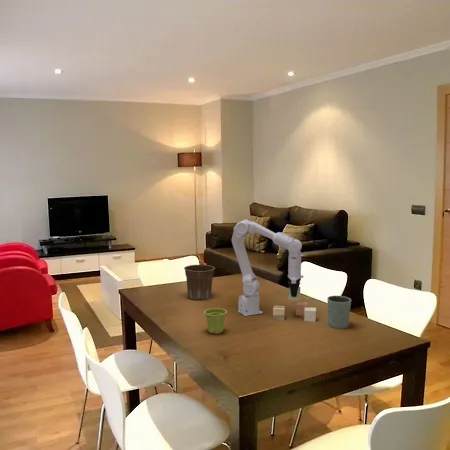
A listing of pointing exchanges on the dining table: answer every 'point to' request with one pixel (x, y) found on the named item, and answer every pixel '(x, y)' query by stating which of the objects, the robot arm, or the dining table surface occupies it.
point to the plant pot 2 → (215, 319)
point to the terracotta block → (300, 308)
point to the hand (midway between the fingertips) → (294, 295)
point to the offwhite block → (310, 314)
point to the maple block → (279, 312)
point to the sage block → (296, 296)
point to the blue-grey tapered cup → (338, 311)
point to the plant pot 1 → (199, 281)
